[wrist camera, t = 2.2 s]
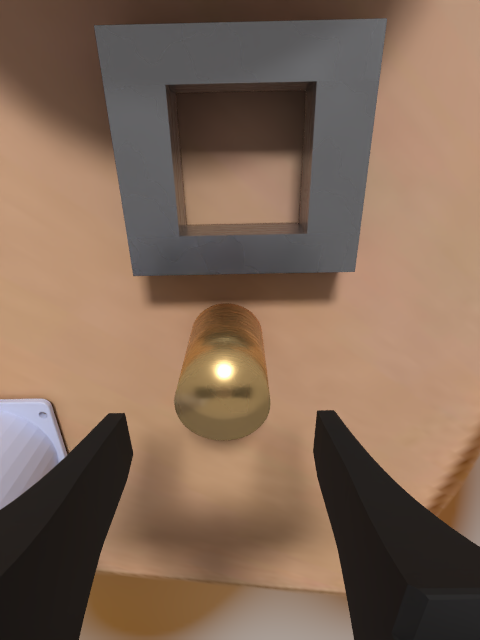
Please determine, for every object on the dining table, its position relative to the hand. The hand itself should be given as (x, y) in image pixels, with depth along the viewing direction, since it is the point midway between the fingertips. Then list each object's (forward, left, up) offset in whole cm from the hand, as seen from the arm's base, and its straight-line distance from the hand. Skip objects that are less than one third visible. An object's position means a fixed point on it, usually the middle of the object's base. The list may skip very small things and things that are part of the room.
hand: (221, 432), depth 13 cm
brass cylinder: (0, 0, -8) cm, 8 cm away
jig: (+9, -1, -8) cm, 12 cm away
